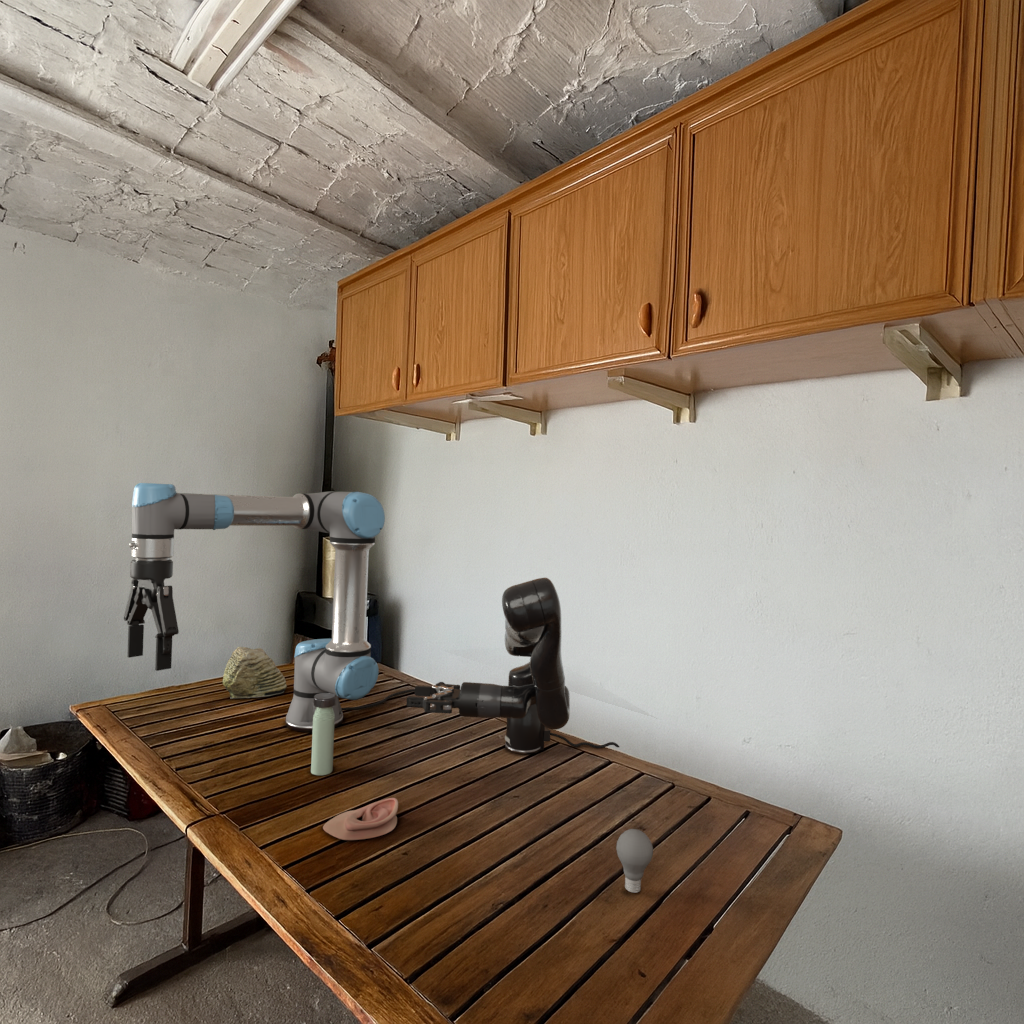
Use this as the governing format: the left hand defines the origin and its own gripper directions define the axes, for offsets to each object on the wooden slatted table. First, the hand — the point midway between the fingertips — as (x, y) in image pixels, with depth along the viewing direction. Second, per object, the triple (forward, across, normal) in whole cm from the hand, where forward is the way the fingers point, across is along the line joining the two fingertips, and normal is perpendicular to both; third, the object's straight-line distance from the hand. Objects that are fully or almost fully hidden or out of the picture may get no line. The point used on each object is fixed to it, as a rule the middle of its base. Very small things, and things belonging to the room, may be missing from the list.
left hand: (148, 662), depth 129 cm
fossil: (+28, -47, +50) cm, 74 cm away
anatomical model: (+28, +41, +23) cm, 55 cm away
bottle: (+28, +14, +32) cm, 45 cm away
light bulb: (+28, +90, +41) cm, 103 cm away
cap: (+11, +14, +32) cm, 37 cm away
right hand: (+9, +31, +44) cm, 55 cm away
